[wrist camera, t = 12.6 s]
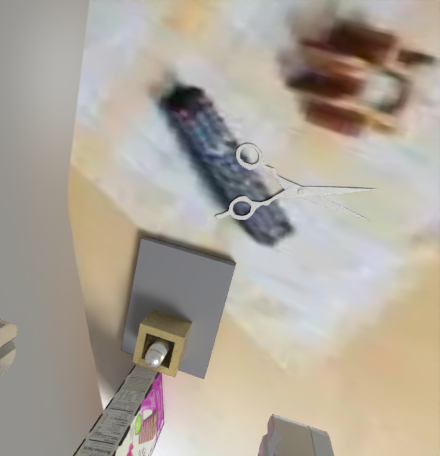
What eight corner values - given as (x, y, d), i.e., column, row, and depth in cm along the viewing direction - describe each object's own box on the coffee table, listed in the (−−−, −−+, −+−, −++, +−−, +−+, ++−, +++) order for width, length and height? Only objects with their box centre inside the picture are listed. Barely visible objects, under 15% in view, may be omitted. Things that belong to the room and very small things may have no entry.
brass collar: (152, 309, 40) (140, 323, 36) (192, 322, 39) (184, 338, 35) (144, 345, 41) (132, 362, 38) (183, 358, 41) (174, 377, 37)
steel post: (162, 324, 40) (143, 352, 34) (177, 329, 40) (161, 358, 34) (159, 338, 41) (140, 367, 34) (174, 343, 40) (157, 374, 34)
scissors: (226, 140, 35) (388, 162, 32) (227, 141, 36) (385, 162, 33) (215, 219, 37) (365, 245, 34) (216, 218, 38) (363, 244, 35)
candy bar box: (166, 423, 45) (113, 555, 30) (139, 419, 46) (73, 545, 30) (163, 365, 43) (105, 474, 27) (135, 362, 44) (62, 465, 28)
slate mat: (145, 236, 40) (141, 238, 38) (236, 262, 38) (234, 266, 37) (125, 344, 44) (120, 350, 42) (206, 372, 42) (204, 379, 41)
